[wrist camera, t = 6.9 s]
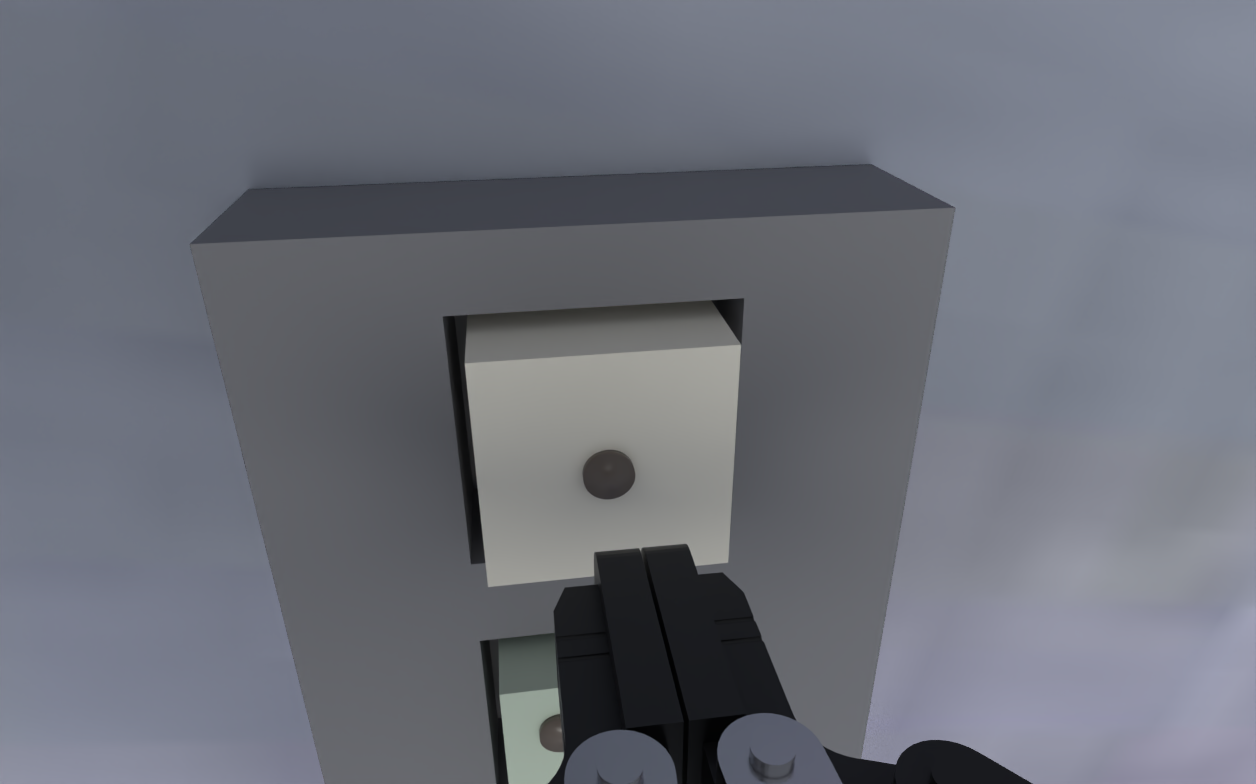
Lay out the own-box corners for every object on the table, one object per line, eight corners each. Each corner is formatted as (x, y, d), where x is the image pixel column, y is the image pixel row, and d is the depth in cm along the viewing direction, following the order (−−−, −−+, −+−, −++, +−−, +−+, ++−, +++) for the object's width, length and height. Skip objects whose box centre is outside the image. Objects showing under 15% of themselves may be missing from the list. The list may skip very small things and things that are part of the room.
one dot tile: (467, 311, 17) (464, 367, 15) (709, 297, 18) (743, 348, 15) (488, 515, 19) (487, 593, 17) (701, 496, 20) (730, 568, 18)
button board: (248, 189, 18) (189, 244, 14) (871, 164, 20) (955, 207, 16) (400, 907, 29) (388, 1036, 26) (787, 849, 31) (825, 963, 28)
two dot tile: (498, 616, 21) (499, 702, 18) (697, 595, 21) (724, 675, 19) (512, 758, 23) (514, 850, 20) (692, 735, 24) (715, 822, 21)
